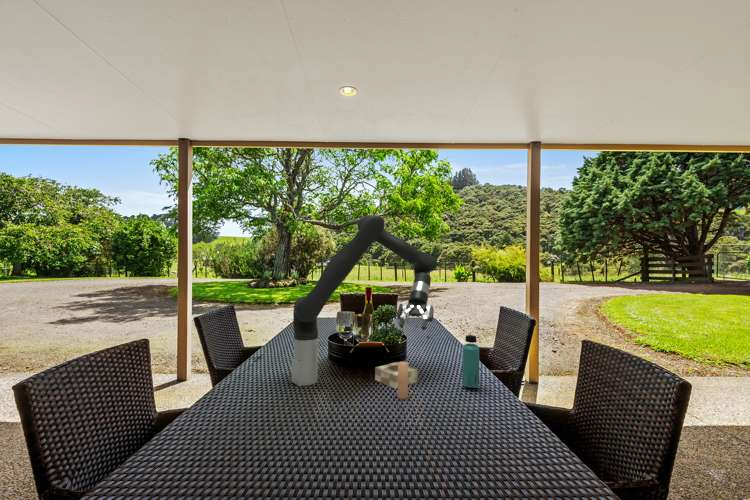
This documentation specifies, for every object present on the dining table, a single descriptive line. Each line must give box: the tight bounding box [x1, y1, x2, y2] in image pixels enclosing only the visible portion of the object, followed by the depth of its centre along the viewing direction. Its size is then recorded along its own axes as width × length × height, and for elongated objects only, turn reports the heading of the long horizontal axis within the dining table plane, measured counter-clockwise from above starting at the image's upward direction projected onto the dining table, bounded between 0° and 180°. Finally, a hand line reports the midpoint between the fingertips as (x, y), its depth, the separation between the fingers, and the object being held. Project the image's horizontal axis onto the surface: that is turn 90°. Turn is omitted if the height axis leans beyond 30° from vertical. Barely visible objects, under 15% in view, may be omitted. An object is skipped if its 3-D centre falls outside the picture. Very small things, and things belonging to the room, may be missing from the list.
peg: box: [397, 361, 409, 400], centre depth 131 cm, size 4×4×12 cm
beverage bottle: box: [461, 334, 481, 389], centre depth 140 cm, size 6×7×20 cm
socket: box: [374, 361, 419, 390], centre depth 147 cm, size 12×12×5 cm
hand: (412, 328), depth 142 cm, fingers open, 8 cm apart
